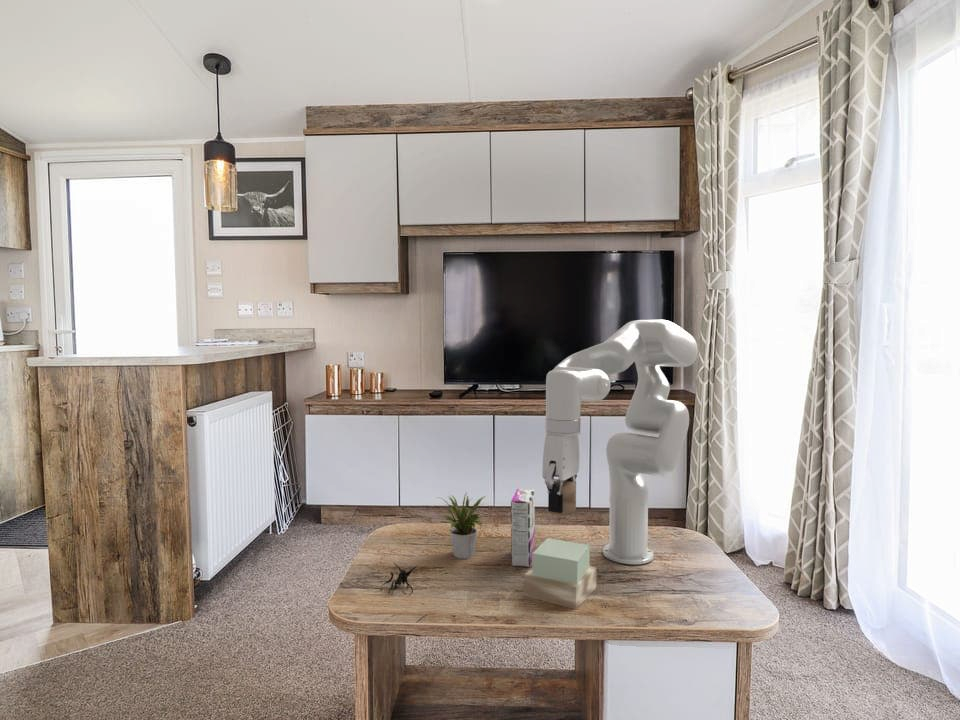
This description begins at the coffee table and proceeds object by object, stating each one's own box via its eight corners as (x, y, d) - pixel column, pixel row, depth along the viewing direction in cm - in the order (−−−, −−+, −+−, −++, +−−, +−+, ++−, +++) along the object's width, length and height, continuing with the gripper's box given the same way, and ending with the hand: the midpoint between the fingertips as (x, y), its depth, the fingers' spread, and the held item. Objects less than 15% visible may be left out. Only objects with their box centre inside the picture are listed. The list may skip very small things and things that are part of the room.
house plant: (425, 564, 142) (425, 499, 141) (436, 543, 156) (436, 484, 155) (483, 567, 140) (483, 501, 140) (488, 546, 154) (489, 486, 153)
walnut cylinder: (555, 505, 131) (555, 479, 130) (580, 509, 127) (580, 482, 127) (543, 512, 125) (543, 484, 125) (569, 516, 122) (569, 489, 122)
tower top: (547, 559, 134) (547, 538, 134) (589, 566, 130) (589, 545, 129) (532, 575, 125) (532, 553, 125) (577, 584, 121) (577, 561, 120)
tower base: (547, 576, 136) (547, 556, 136) (596, 588, 130) (596, 567, 129) (524, 596, 126) (524, 574, 126) (575, 610, 119) (575, 587, 119)
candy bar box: (516, 549, 152) (516, 488, 151) (535, 550, 151) (535, 489, 150) (509, 566, 141) (510, 500, 140) (530, 568, 140) (530, 501, 139)
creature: (407, 604, 124) (423, 582, 131) (404, 583, 122) (420, 561, 130) (375, 598, 127) (392, 576, 134) (372, 577, 125) (390, 556, 132)
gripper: (563, 420, 135) (562, 496, 136) (529, 430, 120) (528, 515, 121) (593, 422, 131) (592, 501, 132) (562, 434, 116) (561, 521, 117)
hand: (562, 507), depth 126 cm, fingers closed on walnut cylinder, 6 cm apart
